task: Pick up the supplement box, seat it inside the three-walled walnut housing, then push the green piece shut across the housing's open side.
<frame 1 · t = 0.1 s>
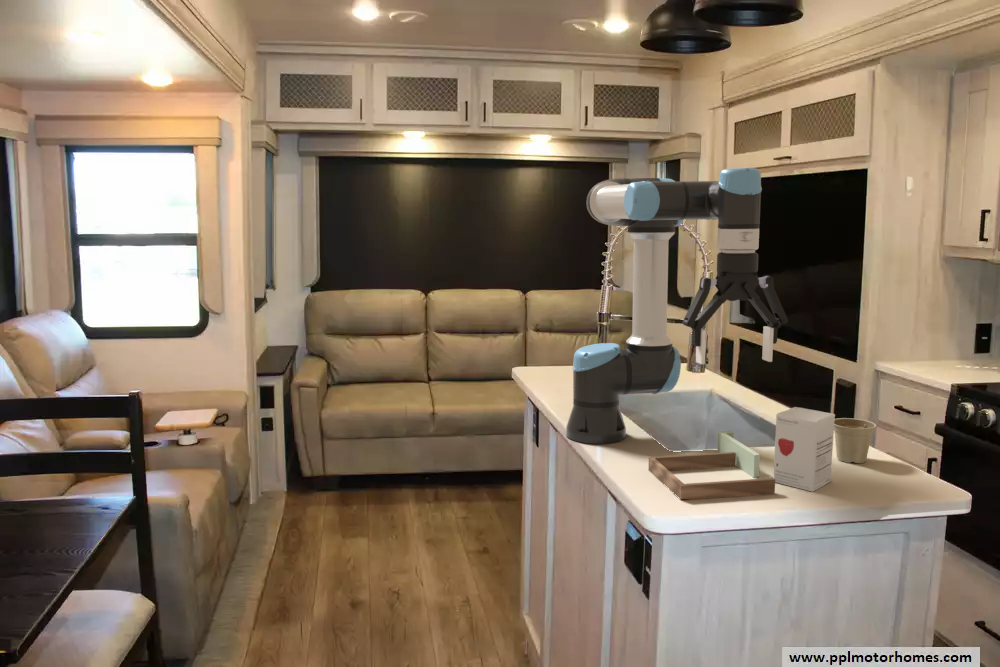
hand: (733, 361, 155), 28 cm above the worktop, tool pointing down, fingers open, 13 cm apart
flower pot: (851, 460, 184), on the worktop
green piece: (741, 453, 181), point 2 cm above the worktop, slide at -9.0 cm
housing: (708, 481, 171), on the worktop
supplement box: (801, 483, 170), on the worktop
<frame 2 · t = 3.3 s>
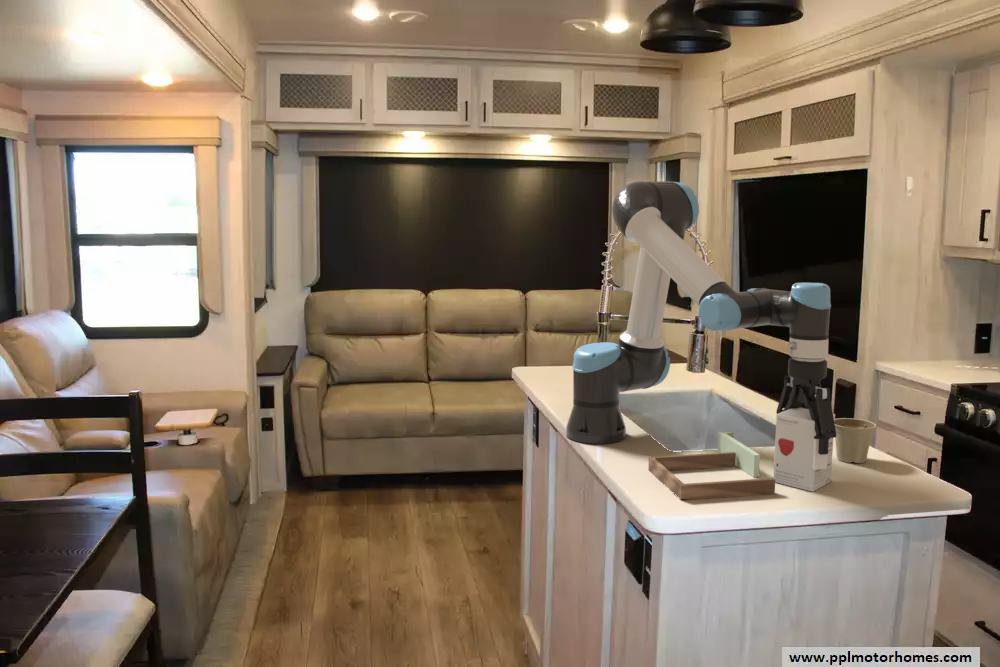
hand: (803, 459, 169), 5 cm above the worktop, tool pointing down, fingers closed on supplement box, 12 cm apart
supplement box: (801, 483, 170), on the worktop, touching gripper
everything else where it was.
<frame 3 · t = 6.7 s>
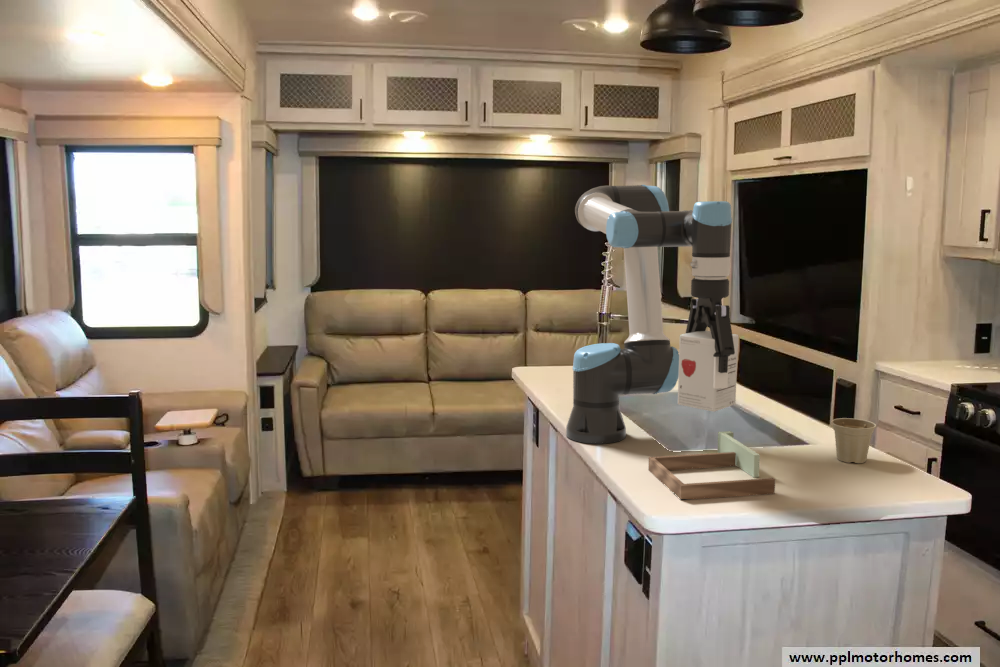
hand: (707, 381, 167), 22 cm above the worktop, tool pointing down, fingers closed on supplement box, 12 cm apart
supplement box: (706, 405, 168), point 17 cm above the worktop, touching gripper
everything else where it was.
when the fingers open (6 cm above the worktop, at t = 10.2 s): supplement box stays where it is, resting in housing.
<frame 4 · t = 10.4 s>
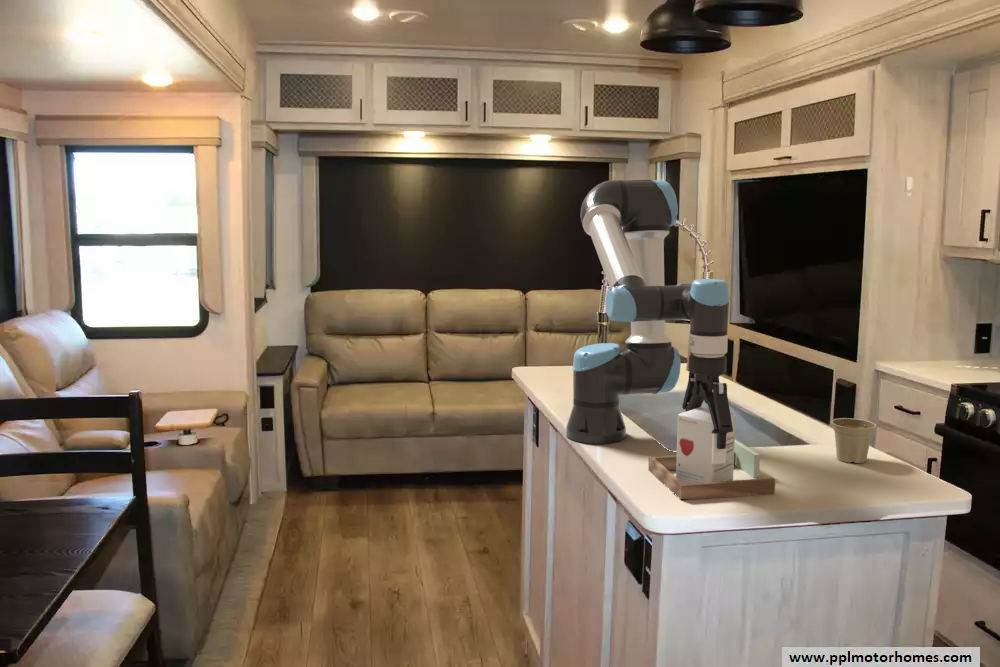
hand: (705, 453, 169), 6 cm above the worktop, tool pointing down, fingers open, 13 cm apart
supplement box: (704, 483, 170), resting in housing
everything else where it was.
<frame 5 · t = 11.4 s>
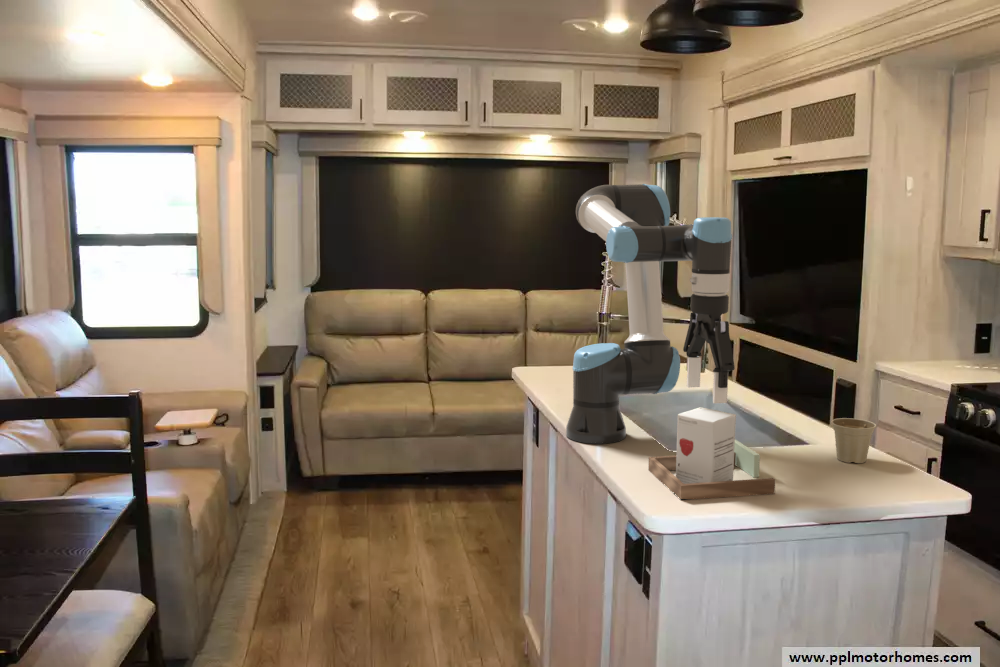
hand: (706, 394, 168), 19 cm above the worktop, tool pointing down, fingers open, 13 cm apart
nothing on the worktop moved.
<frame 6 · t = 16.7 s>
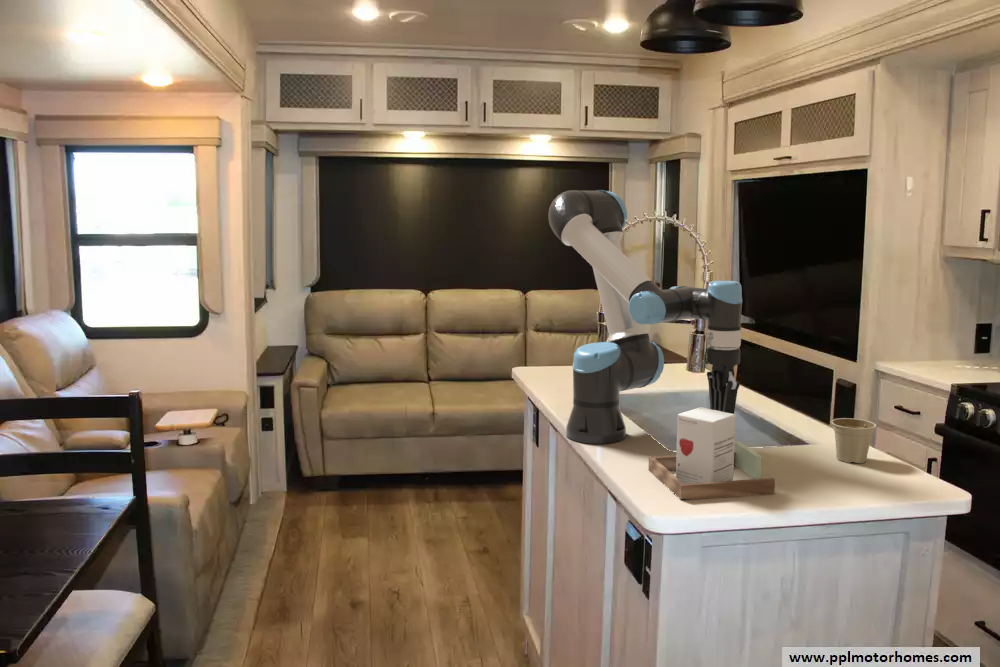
hand: (720, 444, 191), 2 cm above the worktop, tool pointing down, fingers closed
green piece: (743, 454, 181), point 2 cm above the worktop, slide at -8.1 cm, touching gripper
everything else where it was.
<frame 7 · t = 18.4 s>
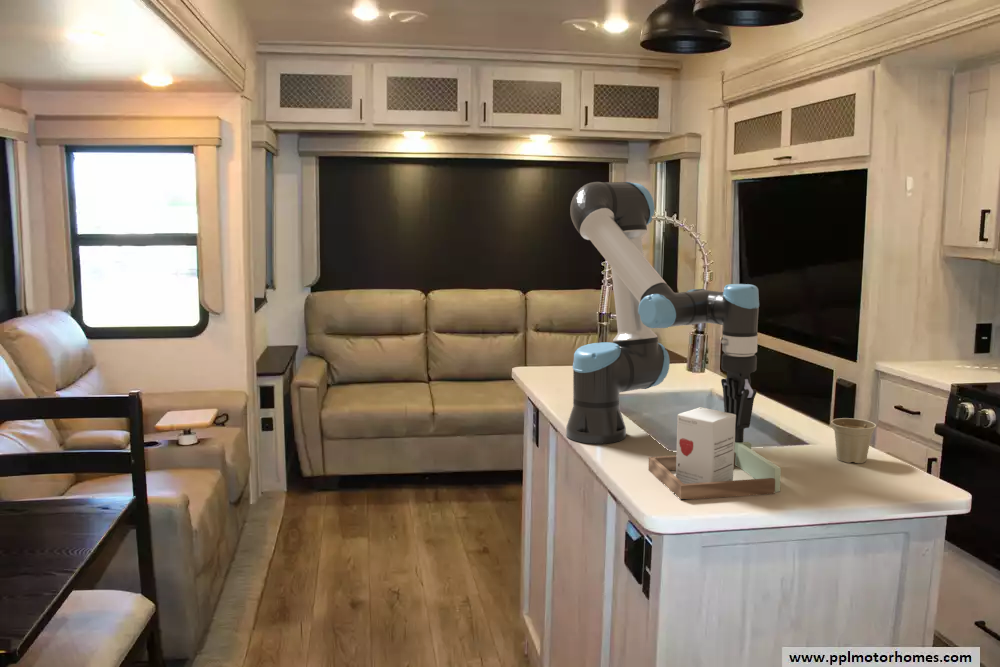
hand: (735, 455, 183), 1 cm above the worktop, tool pointing down, fingers closed
green piece: (760, 465, 173), point 2 cm above the worktop, slide at 0.0 cm, touching gripper
everything else where it was.
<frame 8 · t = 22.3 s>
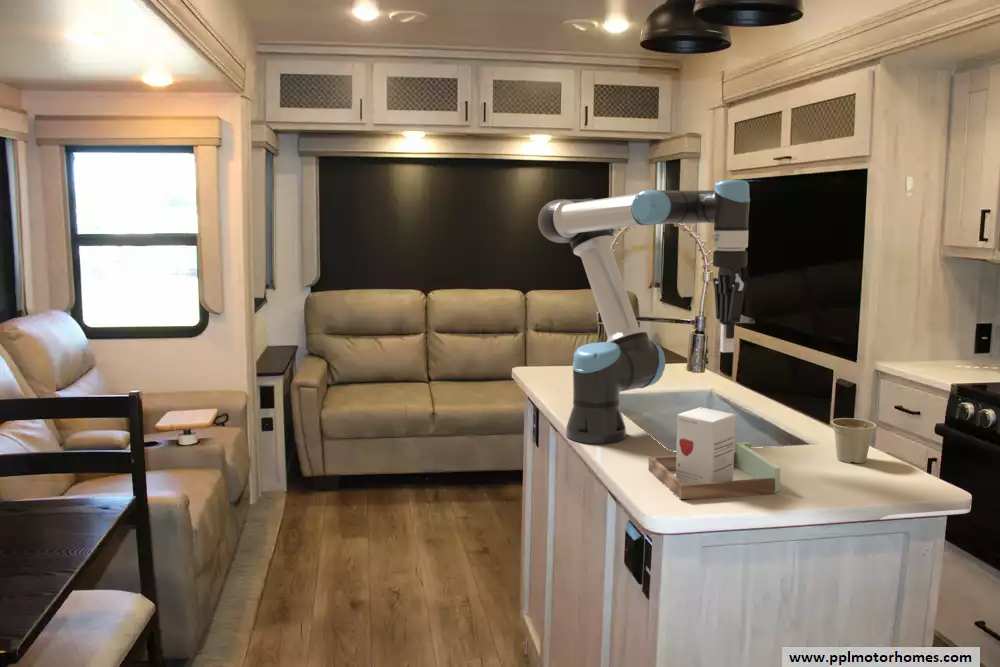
hand: (726, 351, 186), 24 cm above the worktop, tool pointing down, fingers closed
green piece: (760, 465, 173), point 2 cm above the worktop, slide at 0.0 cm
everything else where it was.
at the end: supplement box inside the target area on the housing (0.2 cm from its centre), point 0.0 cm above the housing's base; supplement box tilted 0°; green piece slide at 0.0 cm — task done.
